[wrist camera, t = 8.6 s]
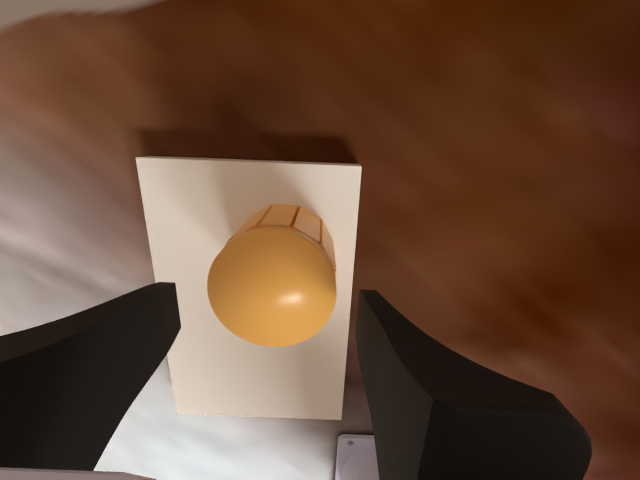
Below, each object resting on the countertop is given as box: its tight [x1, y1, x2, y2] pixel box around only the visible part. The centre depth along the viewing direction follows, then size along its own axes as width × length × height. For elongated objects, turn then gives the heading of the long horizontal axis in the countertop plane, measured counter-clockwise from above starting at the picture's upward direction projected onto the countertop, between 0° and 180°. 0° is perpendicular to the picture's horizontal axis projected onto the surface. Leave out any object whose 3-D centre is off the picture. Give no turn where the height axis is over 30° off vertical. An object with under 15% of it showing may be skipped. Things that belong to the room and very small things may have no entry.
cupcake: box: [207, 204, 337, 347], centre depth 15 cm, size 6×6×5 cm
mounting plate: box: [136, 156, 362, 420], centre depth 18 cm, size 12×18×5 cm, turn 178°
